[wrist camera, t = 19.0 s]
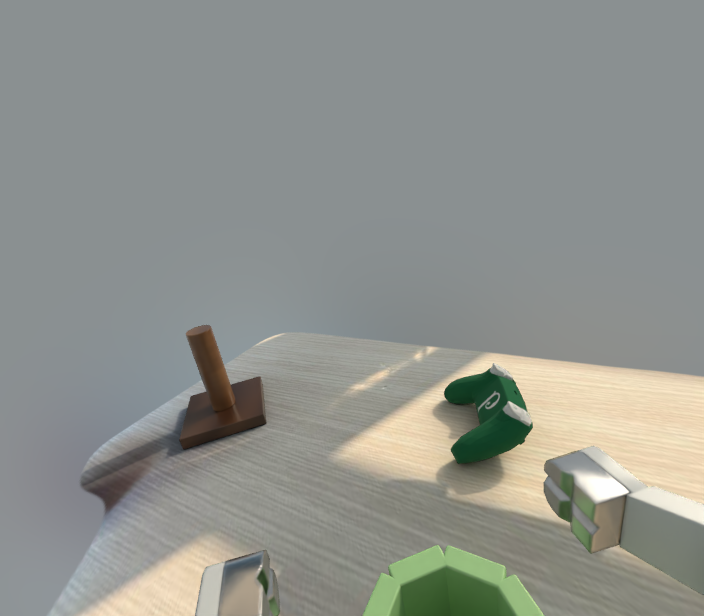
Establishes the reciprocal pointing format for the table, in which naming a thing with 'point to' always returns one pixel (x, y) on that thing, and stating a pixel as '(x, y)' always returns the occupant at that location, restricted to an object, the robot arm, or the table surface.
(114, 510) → the table surface
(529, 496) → the table surface
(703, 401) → the table surface
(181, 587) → the table surface
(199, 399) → the stand
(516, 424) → the gaming controller
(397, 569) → the green octagonal tube
